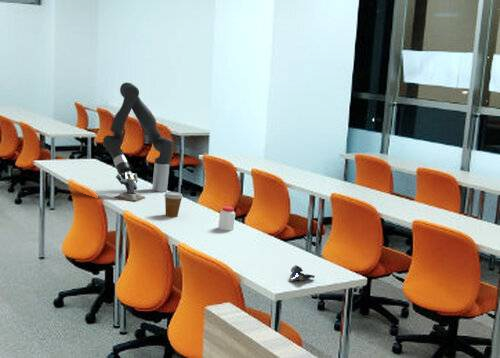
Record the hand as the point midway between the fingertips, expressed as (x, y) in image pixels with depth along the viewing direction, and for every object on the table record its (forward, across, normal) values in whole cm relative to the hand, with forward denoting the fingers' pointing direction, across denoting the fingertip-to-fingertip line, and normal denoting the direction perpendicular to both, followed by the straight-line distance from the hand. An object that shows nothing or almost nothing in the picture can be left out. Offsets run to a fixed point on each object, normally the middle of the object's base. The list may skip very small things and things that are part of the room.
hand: (132, 189), depth 370 cm
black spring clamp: (+106, -24, -97) cm, 146 cm away
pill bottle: (+55, +5, -47) cm, 72 cm away
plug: (+2, 0, +4) cm, 4 cm away
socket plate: (+3, 0, +5) cm, 6 cm away
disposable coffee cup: (+33, -4, -24) cm, 41 cm away
